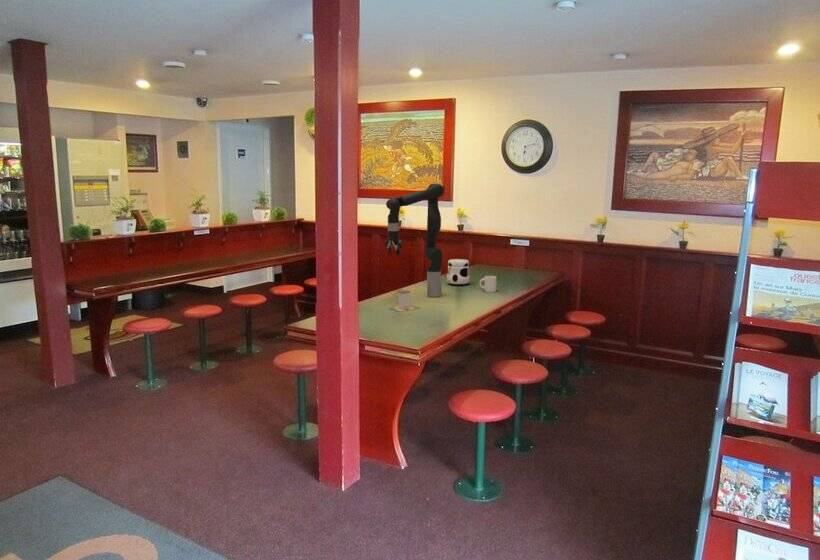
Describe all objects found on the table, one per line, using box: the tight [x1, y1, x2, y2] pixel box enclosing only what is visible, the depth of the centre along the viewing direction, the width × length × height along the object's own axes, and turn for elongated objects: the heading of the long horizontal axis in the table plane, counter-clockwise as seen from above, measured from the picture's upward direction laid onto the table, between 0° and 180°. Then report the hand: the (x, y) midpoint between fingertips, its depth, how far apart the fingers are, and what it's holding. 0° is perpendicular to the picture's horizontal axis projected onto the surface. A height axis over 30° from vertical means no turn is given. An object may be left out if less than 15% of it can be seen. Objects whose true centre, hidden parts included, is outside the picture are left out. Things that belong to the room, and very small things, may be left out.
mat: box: [387, 304, 420, 313], centre depth 357 cm, size 16×12×1 cm
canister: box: [397, 289, 411, 309], centre depth 356 cm, size 5×5×11 cm
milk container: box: [446, 258, 471, 286], centre depth 430 cm, size 17×17×18 cm
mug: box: [478, 275, 497, 293], centre depth 407 cm, size 12×8×10 cm
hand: (393, 254), depth 375 cm, fingers open, 8 cm apart
